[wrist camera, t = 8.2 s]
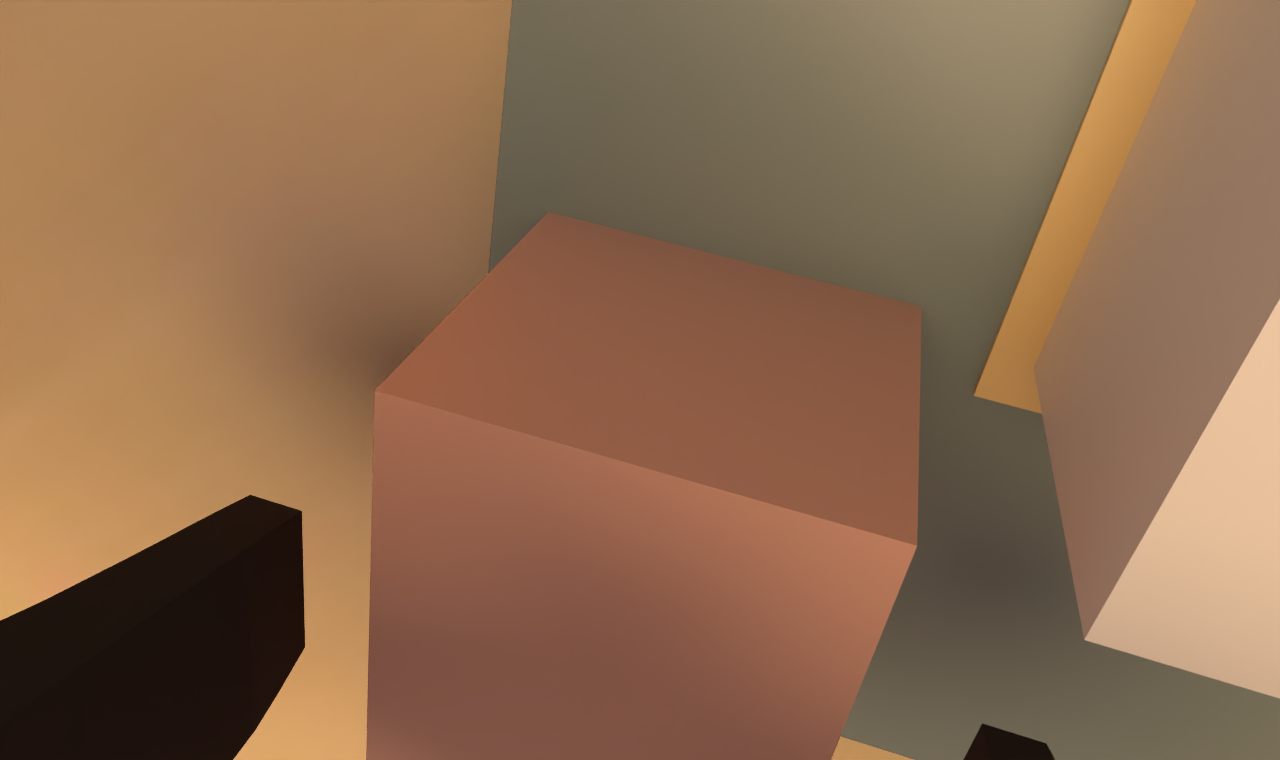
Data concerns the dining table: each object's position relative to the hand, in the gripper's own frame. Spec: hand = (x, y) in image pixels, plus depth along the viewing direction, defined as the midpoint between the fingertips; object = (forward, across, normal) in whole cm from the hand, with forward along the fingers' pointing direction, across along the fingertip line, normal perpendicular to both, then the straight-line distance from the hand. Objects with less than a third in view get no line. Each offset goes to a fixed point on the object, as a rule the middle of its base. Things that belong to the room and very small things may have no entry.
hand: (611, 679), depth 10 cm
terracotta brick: (+4, 0, 0) cm, 4 cm away
